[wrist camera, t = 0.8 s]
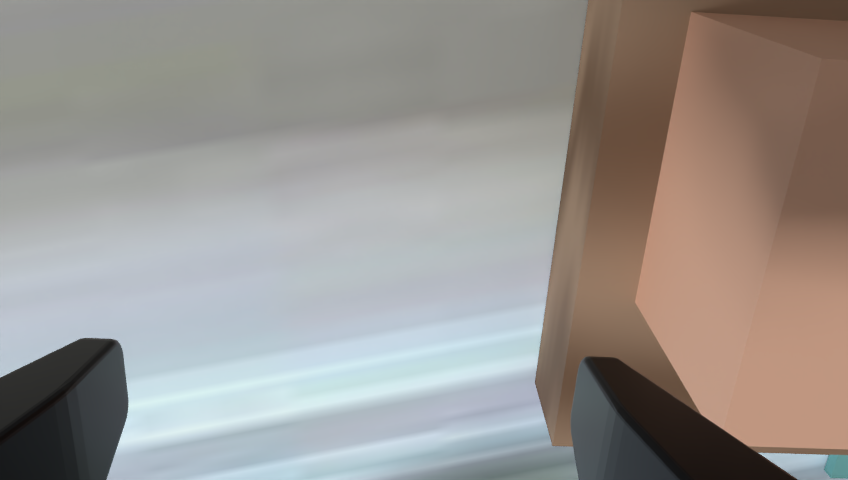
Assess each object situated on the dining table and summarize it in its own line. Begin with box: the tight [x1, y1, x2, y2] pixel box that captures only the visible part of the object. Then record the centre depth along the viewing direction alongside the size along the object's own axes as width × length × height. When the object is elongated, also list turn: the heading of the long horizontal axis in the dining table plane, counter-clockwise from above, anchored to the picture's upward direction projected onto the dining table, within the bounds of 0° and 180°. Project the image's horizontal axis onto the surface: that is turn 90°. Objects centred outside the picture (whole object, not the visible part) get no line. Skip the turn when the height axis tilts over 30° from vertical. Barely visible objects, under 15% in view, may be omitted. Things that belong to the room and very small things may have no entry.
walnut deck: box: [535, 0, 848, 455], centre depth 19 cm, size 16×10×3 cm, turn 177°
